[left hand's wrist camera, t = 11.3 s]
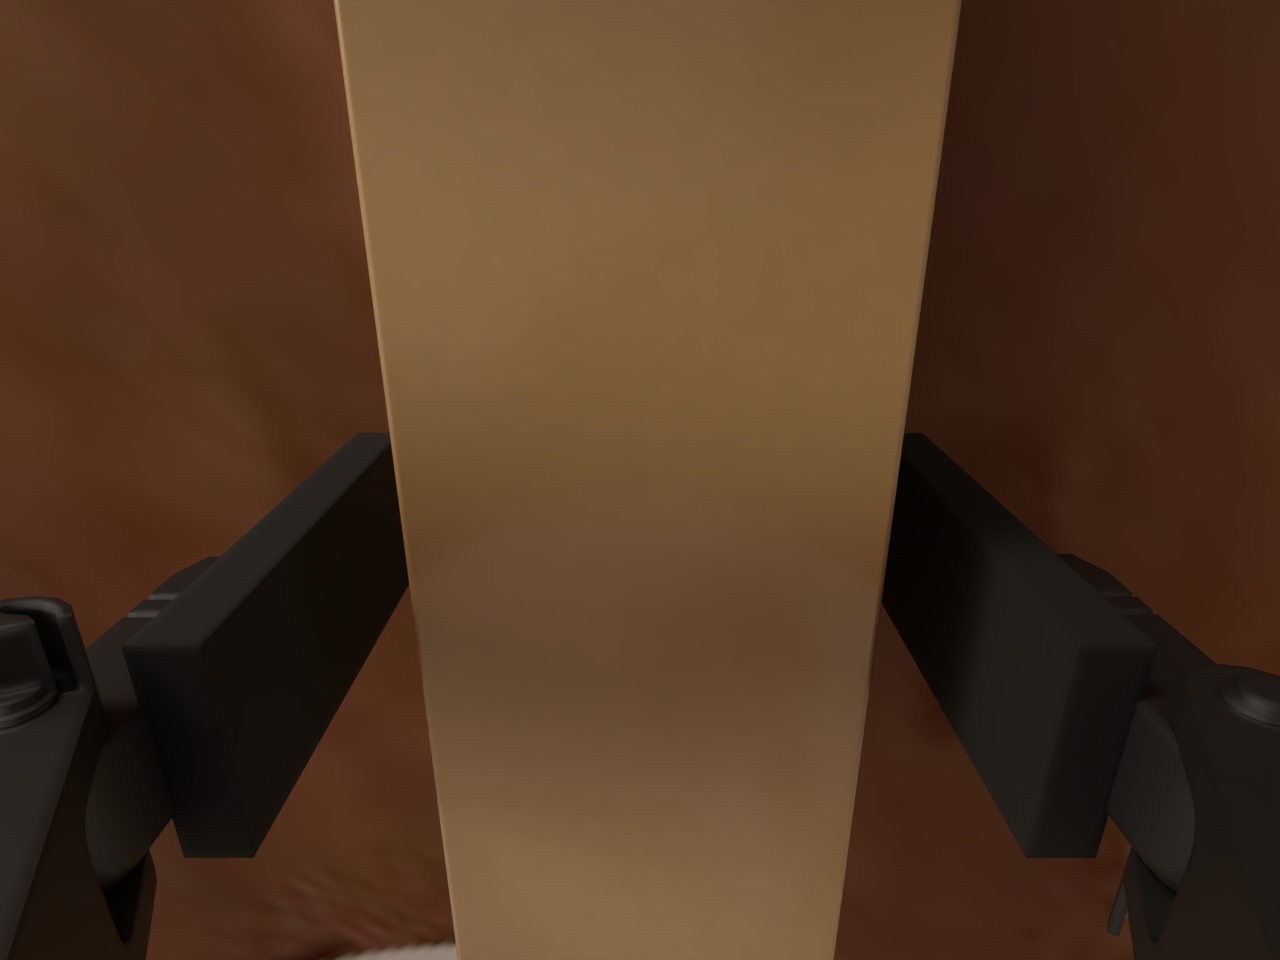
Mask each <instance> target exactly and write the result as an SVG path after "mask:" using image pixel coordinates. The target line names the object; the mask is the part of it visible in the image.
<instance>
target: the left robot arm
mask: <svg viewBox="0 0 1280 960" xmlns="http://www.w3.org/2000/svg"><path fill="white" fill-rule="evenodd" d="M408 585H409V578H408V570H407V563H406V555H405V547H404V540H403V532H402V524H401V516H400V509H399V501H398V493H397V486H396V478H395V470H394V462H393V455H392V447H391V439H390V433H357V434H356V435H355V436H354V437H353V438H352V439H350V440H349V441H348V442H347V443H346V444H345V445H344V446H343V447H342V448H340V449H339V450H338V451H337V452H336V453H335V454H334V455H333V456H332V457H330V458H329V459H328V460H327V461H326V462H325V463H324V464H323V465H322V466H321V467H319V468H318V469H317V470H316V471H315V472H314V473H313V474H312V475H311V476H309V477H308V478H307V479H306V480H305V481H304V482H303V483H302V484H301V485H300V486H298V487H297V488H296V489H295V490H294V491H293V492H292V493H291V494H290V495H288V496H287V497H286V498H285V499H284V500H283V501H282V502H281V503H280V504H279V505H277V506H276V507H275V508H274V509H273V510H272V511H271V512H270V513H269V514H267V515H266V516H265V517H264V518H263V519H262V520H261V521H260V522H259V523H257V524H256V525H255V526H254V527H253V528H252V529H251V530H250V531H249V532H248V533H246V534H245V535H244V536H243V537H242V538H241V539H240V540H239V541H238V542H236V543H235V544H234V545H233V546H232V547H231V548H230V549H229V550H228V551H227V552H225V553H224V554H223V555H222V556H221V557H208V558H206V559H204V560H202V561H200V562H198V563H196V564H194V565H192V566H190V567H188V568H186V569H184V570H182V571H180V572H178V573H176V574H174V575H172V576H171V577H170V578H169V579H168V580H167V581H165V582H164V583H163V584H162V585H161V586H160V587H158V588H157V589H156V590H155V591H154V592H152V593H151V594H150V595H149V600H143V601H142V602H141V603H140V604H138V605H137V606H136V607H135V608H134V609H132V610H131V611H130V612H129V613H128V618H122V619H121V620H120V621H118V622H117V623H116V624H115V625H114V626H113V627H111V628H110V629H109V630H108V631H107V632H105V633H104V634H103V635H102V636H101V637H100V638H98V639H97V640H96V641H95V642H94V643H93V644H91V645H90V646H89V647H88V648H87V649H85V648H84V645H83V641H82V638H81V635H80V632H79V629H78V626H77V623H76V620H75V616H74V613H73V610H72V607H71V605H69V604H68V603H66V602H64V601H62V600H60V599H59V598H49V597H38V596H34V597H24V598H15V599H6V600H2V601H0V960H146V954H147V947H148V940H149V933H150V926H151V919H152V912H153V905H154V899H155V892H156V885H157V878H156V872H155V866H154V863H153V860H152V857H151V854H150V850H149V848H150V847H151V845H152V844H153V843H154V841H155V840H156V839H157V837H158V836H159V835H160V833H161V832H162V830H163V829H164V828H165V826H166V825H167V824H168V822H169V821H170V819H171V818H173V822H174V825H175V828H176V832H177V835H178V838H179V842H180V845H181V848H182V852H183V855H184V858H254V856H255V854H256V852H257V851H258V849H259V847H260V845H261V844H262V842H263V840H264V838H265V837H266V835H267V833H268V831H269V830H270V828H271V826H272V824H273V822H274V821H275V819H276V817H277V815H278V814H279V812H280V810H281V808H282V807H283V805H284V803H285V801H286V800H287V798H288V796H289V794H290V793H291V791H292V789H293V787H294V786H295V784H296V782H297V780H298V778H299V777H300V775H301V773H302V771H303V770H304V768H305V766H306V764H307V763H308V761H309V759H310V757H311V756H312V754H313V752H314V750H315V749H316V747H317V745H318V743H319V742H320V740H321V738H322V736H323V735H324V733H325V731H326V729H327V727H328V726H329V724H330V722H331V720H332V719H333V717H334V715H335V713H336V712H337V710H338V708H339V706H340V705H341V703H342V701H343V699H344V698H345V696H346V694H347V692H348V691H349V689H350V687H351V685H352V683H353V682H354V680H355V678H356V676H357V675H358V673H359V671H360V669H361V668H362V666H363V664H364V662H365V661H366V659H367V657H368V655H369V654H370V652H371V650H372V648H373V647H374V645H375V643H376V641H377V639H378V638H379V636H380V634H381V632H382V631H383V629H384V627H385V625H386V624H387V622H388V620H389V618H390V617H391V615H392V613H393V611H394V610H395V608H396V606H397V604H398V603H399V601H400V599H401V597H402V596H403V594H404V592H405V590H406V588H407V587H408ZM881 603H882V604H883V606H884V608H885V610H886V611H887V613H888V615H889V617H890V618H891V620H892V622H893V624H894V625H895V627H896V629H897V631H898V632H899V634H900V636H901V638H902V639H903V641H904V643H905V645H906V647H907V648H908V650H909V652H910V654H911V655H912V657H913V659H914V661H915V662H916V664H917V666H918V668H919V669H920V671H921V673H922V675H923V676H924V678H925V680H926V682H927V683H928V685H929V687H930V689H931V690H932V692H933V694H934V696H935V698H936V699H937V701H938V703H939V705H940V706H941V708H942V710H943V712H944V713H945V715H946V717H947V719H948V720H949V722H950V724H951V726H952V727H953V729H954V731H955V733H956V734H957V736H958V738H959V740H960V742H961V743H962V745H963V747H964V749H965V750H966V752H967V754H968V756H969V757H970V759H971V761H972V763H973V764H974V766H975V768H976V770H977V771H978V773H979V775H980V777H981V778H982V780H983V782H984V784H985V785H986V787H987V789H988V791H989V793H990V794H991V796H992V798H993V800H994V801H995V803H996V805H997V807H998V808H999V810H1000V812H1001V814H1002V815H1003V817H1004V819H1005V821H1006V822H1007V824H1008V826H1009V828H1010V829H1011V831H1012V833H1013V835H1014V837H1015V838H1016V840H1017V842H1018V844H1019V845H1020V847H1021V849H1022V851H1023V852H1024V854H1025V856H1026V858H1096V855H1097V852H1098V848H1099V845H1100V842H1101V838H1102V835H1103V832H1104V828H1105V825H1106V822H1107V818H1108V815H1110V817H1111V818H1112V819H1113V821H1114V822H1115V823H1116V825H1117V826H1118V828H1119V829H1120V830H1121V832H1122V833H1123V834H1124V836H1125V837H1126V838H1127V840H1128V841H1129V842H1130V844H1131V845H1132V847H1131V850H1130V854H1129V857H1128V860H1127V863H1126V866H1125V869H1124V872H1123V875H1122V878H1121V882H1120V885H1119V888H1118V891H1117V894H1116V897H1115V900H1114V903H1113V907H1112V910H1111V913H1110V916H1109V921H1108V927H1107V933H1110V934H1113V935H1116V936H1119V933H1120V930H1121V927H1122V924H1123V921H1124V920H1125V919H1126V918H1128V917H1129V924H1130V930H1131V937H1132V944H1133V951H1134V958H1135V960H1280V676H1277V675H1273V674H1270V673H1266V672H1263V671H1259V670H1256V669H1252V668H1248V667H1240V666H1232V665H1224V664H1218V665H1217V664H1216V663H1215V662H1213V661H1212V660H1211V659H1210V658H1209V657H1207V656H1206V655H1205V654H1204V653H1203V652H1202V651H1200V650H1199V649H1198V648H1197V647H1196V646H1194V645H1193V644H1192V643H1191V642H1190V641H1189V640H1187V639H1186V638H1185V637H1184V636H1183V635H1181V634H1180V633H1179V632H1178V631H1177V630H1175V629H1174V628H1173V627H1172V626H1171V625H1170V624H1168V623H1167V622H1166V621H1165V620H1164V619H1162V618H1161V617H1160V616H1159V615H1153V613H1152V609H1151V608H1149V607H1148V606H1147V605H1146V604H1145V603H1143V602H1142V601H1141V600H1140V599H1139V598H1138V597H1132V592H1130V591H1129V590H1128V589H1127V588H1126V587H1125V586H1123V585H1122V584H1121V583H1120V582H1119V581H1117V580H1116V579H1115V578H1114V577H1113V576H1111V575H1110V574H1109V573H1108V572H1106V571H1104V570H1102V569H1100V568H1098V567H1096V566H1094V565H1092V564H1090V563H1088V562H1086V561H1084V560H1082V559H1080V558H1078V557H1076V556H1074V555H1072V554H1056V553H1055V552H1053V551H1052V550H1051V549H1050V548H1049V547H1048V546H1047V545H1046V544H1045V543H1044V542H1042V541H1041V540H1040V539H1039V538H1038V537H1037V536H1036V535H1035V534H1034V533H1032V532H1031V531H1030V530H1029V529H1028V528H1027V527H1026V526H1025V525H1024V524H1023V523H1021V522H1020V521H1019V520H1018V519H1017V518H1016V517H1015V516H1014V515H1013V514H1011V513H1010V512H1009V511H1008V510H1007V509H1006V508H1005V507H1004V506H1003V505H1002V504H1000V503H999V502H998V501H997V500H996V499H995V498H994V497H993V496H992V495H990V494H989V493H988V492H987V491H986V490H985V489H984V488H983V487H982V486H980V485H979V484H978V483H977V482H976V481H975V480H974V479H973V478H972V477H971V476H969V475H968V474H967V473H966V472H965V471H964V470H963V469H962V468H961V467H959V466H958V465H957V464H956V463H955V462H954V461H953V460H952V459H951V458H950V457H948V456H947V455H946V454H945V453H944V452H943V451H942V450H941V449H940V448H938V447H937V446H936V445H935V444H934V443H933V442H932V441H931V440H930V439H929V438H927V437H926V436H925V435H924V434H923V433H904V437H903V445H902V452H901V460H900V467H899V475H898V482H897V490H896V497H895V505H894V512H893V520H892V527H891V535H890V542H889V549H888V557H887V564H886V572H885V579H884V587H883V594H882V602H881Z"/></svg>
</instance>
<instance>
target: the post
mask: <svg viewBox="0 0 1280 960" xmlns="http://www.w3.org/2000/svg"><path fill="white" fill-rule="evenodd" d="M961 4H962V0H334V7H335V15H336V23H337V30H338V38H339V46H340V54H341V61H342V69H343V77H344V84H345V92H346V100H347V108H348V115H349V123H350V131H351V138H352V146H353V154H354V162H355V169H356V177H357V185H358V192H359V200H360V208H361V216H362V223H363V231H364V239H365V246H366V254H367V262H368V270H369V277H370V285H371V293H372V300H373V308H374V316H375V324H376V331H377V339H378V347H379V354H380V362H381V370H382V378H383V385H384V393H385V401H386V408H387V416H388V424H389V432H390V439H391V447H392V455H393V462H394V470H395V478H396V486H397V493H398V501H399V509H400V516H401V524H402V532H403V540H404V547H405V555H406V563H407V570H408V578H409V586H410V594H411V601H412V609H413V617H414V624H415V632H416V640H417V648H418V655H419V663H420V671H421V678H422V686H423V694H424V702H425V709H426V717H427V725H428V732H429V740H430V748H431V756H432V763H433V771H434V779H435V786H436V794H437V802H438V810H439V817H440V825H441V833H442V840H443V848H444V856H445V864H446V871H447V879H448V887H449V894H450V902H451V910H452V918H453V925H454V933H455V941H456V948H457V956H458V960H834V953H835V945H836V938H837V930H838V923H839V916H840V908H841V901H842V893H843V886H844V878H845V871H846V863H847V856H848V848H849V841H850V833H851V826H852V818H853V811H854V803H855V796H856V789H857V781H858V774H859V766H860V759H861V751H862V744H863V736H864V729H865V721H866V714H867V706H868V699H869V691H870V684H871V676H872V669H873V662H874V654H875V647H876V639H877V632H878V624H879V617H880V609H881V602H882V594H883V587H884V579H885V572H886V564H887V557H888V549H889V542H890V535H891V527H892V520H893V512H894V505H895V497H896V490H897V482H898V475H899V467H900V460H901V452H902V445H903V437H904V430H905V422H906V415H907V407H908V400H909V393H910V385H911V378H912V370H913V363H914V355H915V348H916V340H917V333H918V325H919V318H920V310H921V303H922V295H923V288H924V280H925V273H926V266H927V258H928V251H929V243H930V236H931V228H932V221H933V213H934V206H935V198H936V191H937V183H938V176H939V168H940V161H941V153H942V146H943V139H944V131H945V124H946V116H947V109H948V101H949V94H950V86H951V79H952V71H953V64H954V56H955V49H956V41H957V34H958V26H959V19H960V12H961Z"/></svg>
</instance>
